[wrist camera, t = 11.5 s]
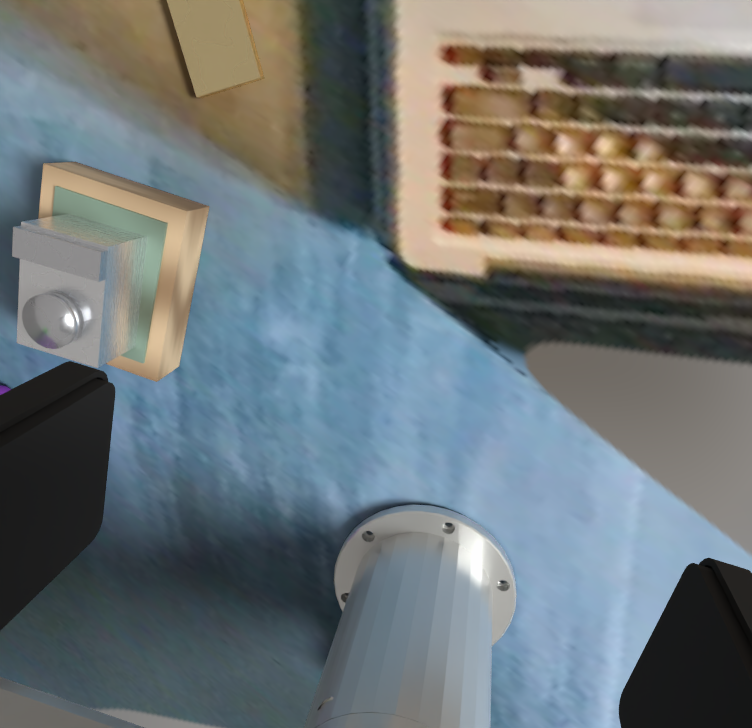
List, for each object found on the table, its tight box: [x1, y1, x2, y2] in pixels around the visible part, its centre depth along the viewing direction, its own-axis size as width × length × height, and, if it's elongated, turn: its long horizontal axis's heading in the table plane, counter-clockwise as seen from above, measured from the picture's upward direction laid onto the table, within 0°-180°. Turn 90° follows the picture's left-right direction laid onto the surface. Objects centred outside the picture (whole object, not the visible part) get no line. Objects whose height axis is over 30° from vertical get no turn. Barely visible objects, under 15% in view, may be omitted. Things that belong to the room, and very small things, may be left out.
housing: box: [12, 214, 147, 368], centre depth 36 cm, size 7×5×5 cm
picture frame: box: [38, 162, 209, 382], centre depth 40 cm, size 11×9×3 cm
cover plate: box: [167, 0, 264, 98], centre depth 36 cm, size 6×4×1 cm, turn 15°
